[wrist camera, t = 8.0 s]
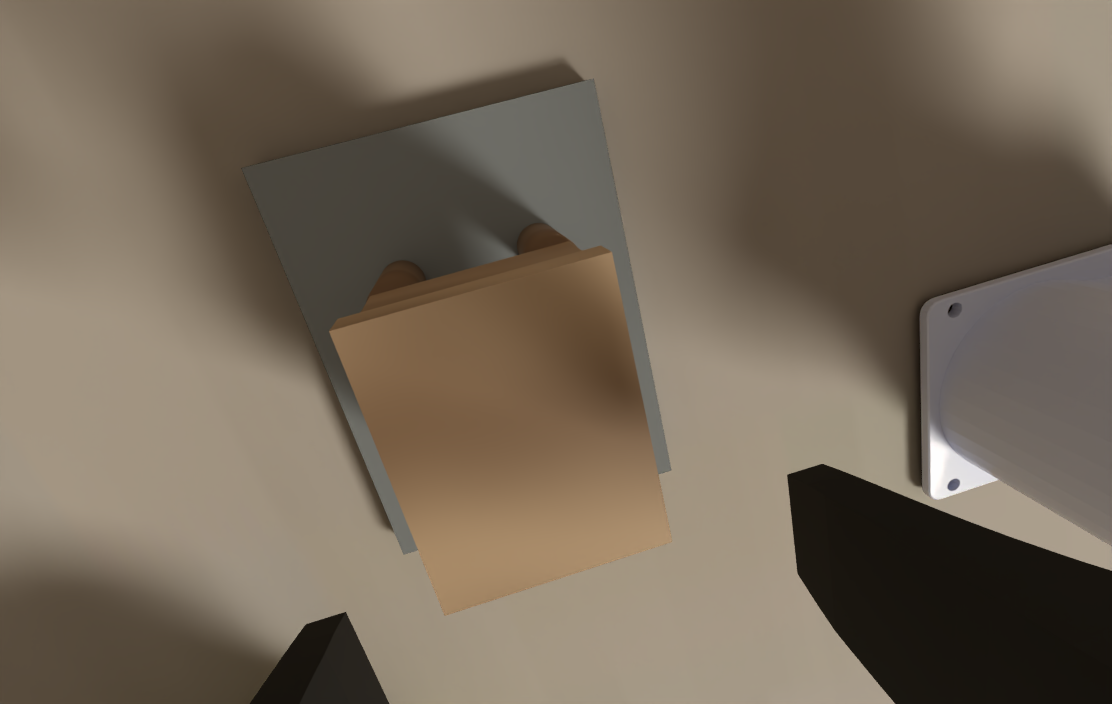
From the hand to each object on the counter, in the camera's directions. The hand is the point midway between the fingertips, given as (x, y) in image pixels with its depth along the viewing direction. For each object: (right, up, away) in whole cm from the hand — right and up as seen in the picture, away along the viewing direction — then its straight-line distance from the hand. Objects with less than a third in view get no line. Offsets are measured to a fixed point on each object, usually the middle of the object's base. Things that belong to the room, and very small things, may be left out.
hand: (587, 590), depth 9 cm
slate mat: (-3, +4, +8) cm, 9 cm away
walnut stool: (-2, +4, +8) cm, 9 cm away
